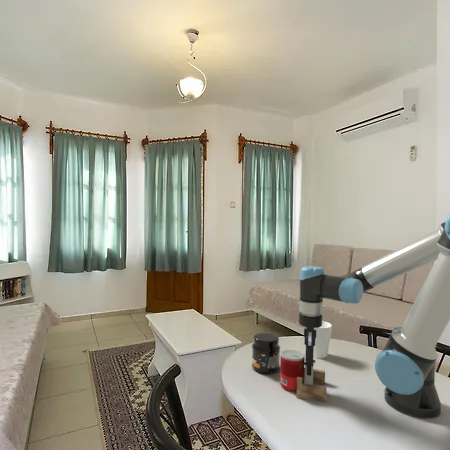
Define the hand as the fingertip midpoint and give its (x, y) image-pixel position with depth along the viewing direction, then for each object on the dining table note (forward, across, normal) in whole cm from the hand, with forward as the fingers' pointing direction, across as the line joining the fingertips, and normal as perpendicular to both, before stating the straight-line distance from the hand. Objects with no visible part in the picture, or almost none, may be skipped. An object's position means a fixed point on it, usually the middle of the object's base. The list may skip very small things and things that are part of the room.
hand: (308, 382), depth 109 cm
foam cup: (+2, -29, +4) cm, 30 cm away
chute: (+2, 0, +1) cm, 2 cm away
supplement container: (+2, -11, -16) cm, 19 cm away
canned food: (+2, 0, -6) cm, 6 cm away
